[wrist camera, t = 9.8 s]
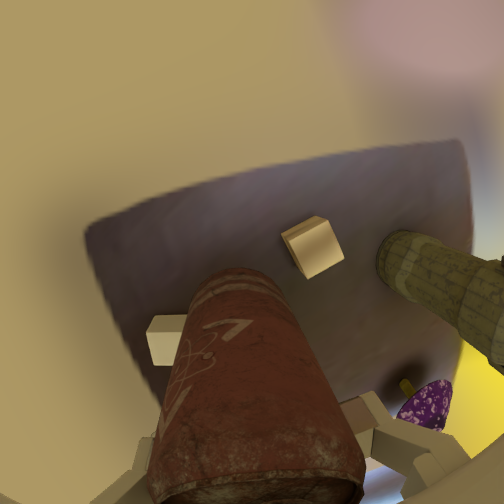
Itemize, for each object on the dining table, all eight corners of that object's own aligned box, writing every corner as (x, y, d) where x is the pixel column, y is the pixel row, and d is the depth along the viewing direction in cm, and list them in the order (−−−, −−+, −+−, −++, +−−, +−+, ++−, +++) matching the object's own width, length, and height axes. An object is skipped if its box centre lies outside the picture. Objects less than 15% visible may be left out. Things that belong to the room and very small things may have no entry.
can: (197, 354, 19) (176, 547, 5) (186, 268, 17) (101, 466, 4) (283, 349, 19) (348, 532, 5) (284, 262, 18) (411, 439, 4)
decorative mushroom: (422, 341, 42) (472, 386, 27) (430, 380, 45) (468, 422, 30) (366, 380, 42) (405, 437, 28) (380, 414, 45) (412, 464, 31)
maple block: (330, 249, 36) (344, 258, 32) (297, 267, 37) (307, 279, 32) (314, 215, 35) (327, 219, 30) (280, 233, 35) (288, 241, 31)
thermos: (382, 304, 39) (550, 460, 5) (367, 232, 36) (616, 354, 2) (425, 281, 39) (595, 392, 5) (414, 211, 36) (636, 280, 2)
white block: (194, 345, 38) (191, 365, 33) (161, 345, 38) (154, 365, 33) (189, 314, 37) (185, 331, 32) (154, 315, 36) (145, 332, 32)
